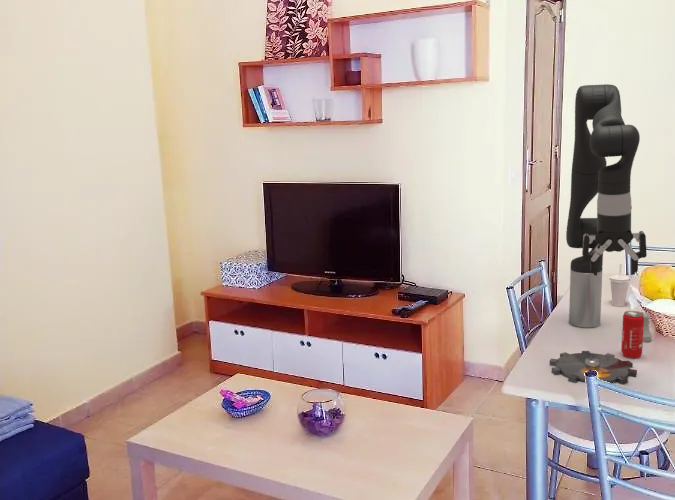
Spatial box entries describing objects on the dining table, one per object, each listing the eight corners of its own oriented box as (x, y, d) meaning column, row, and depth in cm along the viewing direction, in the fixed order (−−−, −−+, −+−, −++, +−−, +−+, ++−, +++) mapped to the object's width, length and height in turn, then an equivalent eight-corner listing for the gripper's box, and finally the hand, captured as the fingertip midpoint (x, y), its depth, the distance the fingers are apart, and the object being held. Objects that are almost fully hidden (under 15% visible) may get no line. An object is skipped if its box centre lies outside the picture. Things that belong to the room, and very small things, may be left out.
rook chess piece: (648, 337, 199) (650, 310, 197) (654, 342, 194) (655, 315, 192) (632, 337, 199) (634, 311, 197) (637, 342, 195) (639, 315, 193)
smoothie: (630, 303, 230) (632, 263, 227) (626, 308, 225) (628, 267, 222) (610, 301, 234) (612, 261, 231) (606, 306, 228) (608, 265, 225)
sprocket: (546, 354, 189) (546, 345, 189) (625, 355, 185) (626, 346, 185) (555, 384, 169) (555, 375, 168) (644, 387, 165) (645, 377, 164)
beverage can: (632, 360, 182) (635, 317, 179) (617, 354, 186) (618, 312, 184) (646, 356, 184) (648, 314, 182) (630, 350, 189) (632, 309, 186)
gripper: (644, 204, 163) (642, 268, 168) (581, 207, 167) (581, 269, 172) (649, 212, 156) (648, 279, 161) (583, 215, 160) (584, 280, 165)
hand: (613, 274), depth 166 cm, fingers open, 8 cm apart
